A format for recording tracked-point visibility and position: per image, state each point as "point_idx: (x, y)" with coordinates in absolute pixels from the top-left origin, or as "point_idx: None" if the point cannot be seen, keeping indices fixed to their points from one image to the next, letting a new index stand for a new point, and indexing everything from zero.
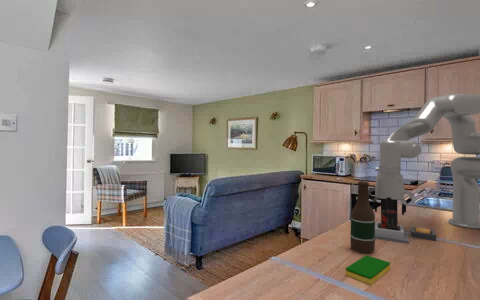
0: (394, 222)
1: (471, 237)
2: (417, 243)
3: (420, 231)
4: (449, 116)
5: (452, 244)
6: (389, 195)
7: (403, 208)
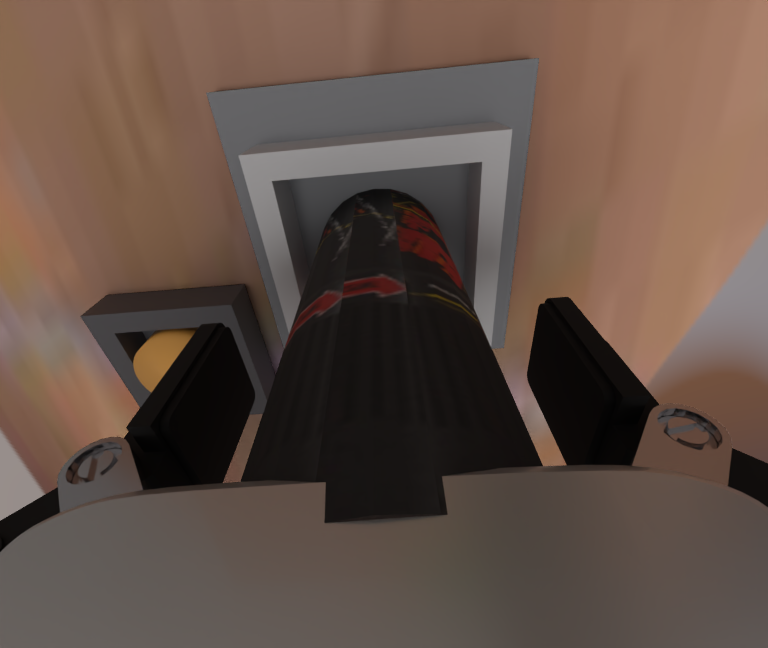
0: (325, 248)
1: (26, 444)
2: (170, 155)
3: (185, 338)
4: None
5: (13, 280)
6: (360, 599)
7: (168, 380)
